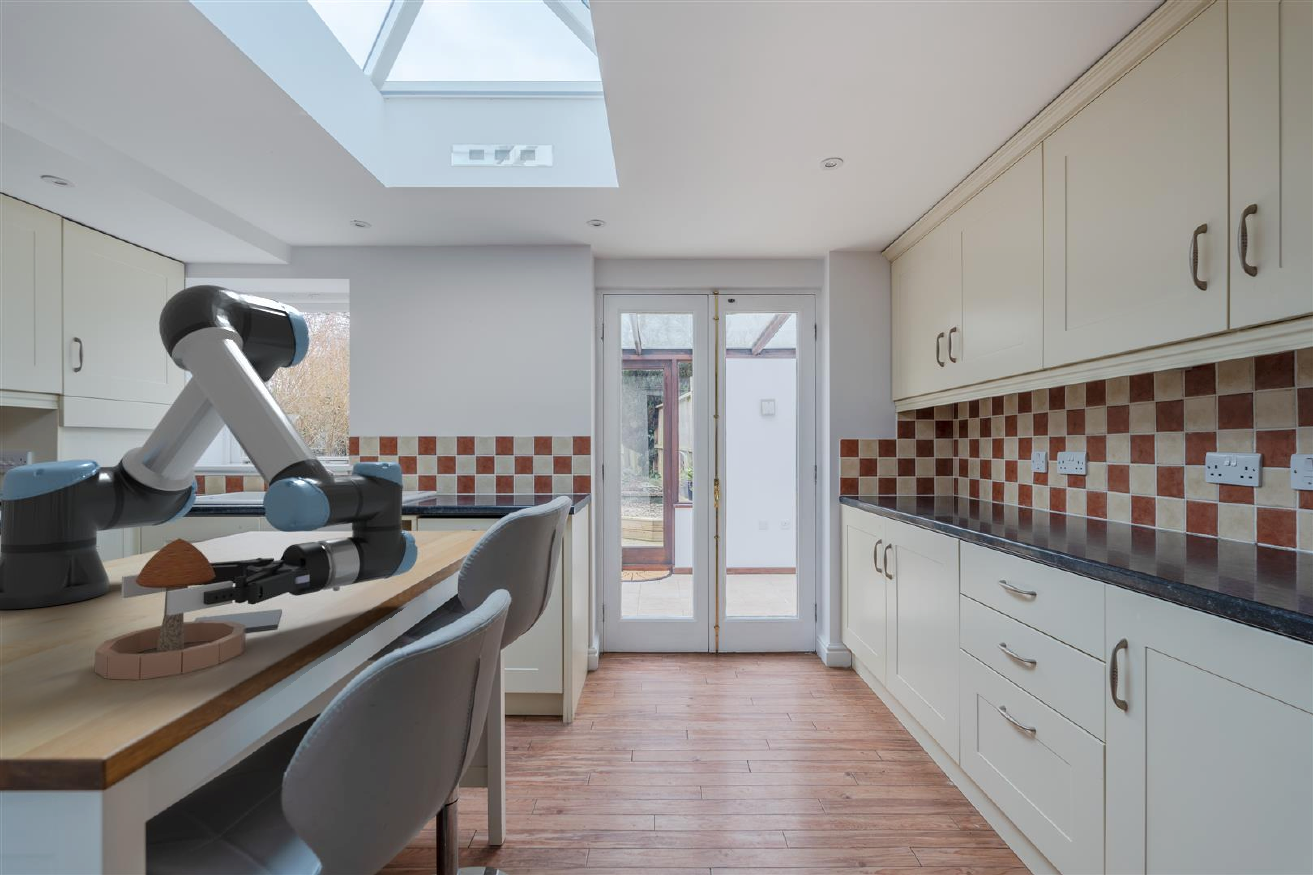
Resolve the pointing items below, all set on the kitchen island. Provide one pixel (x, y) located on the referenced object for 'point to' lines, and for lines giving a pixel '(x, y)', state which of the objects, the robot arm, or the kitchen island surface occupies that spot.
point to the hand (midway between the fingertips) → (143, 595)
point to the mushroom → (175, 584)
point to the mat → (251, 619)
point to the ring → (124, 664)
